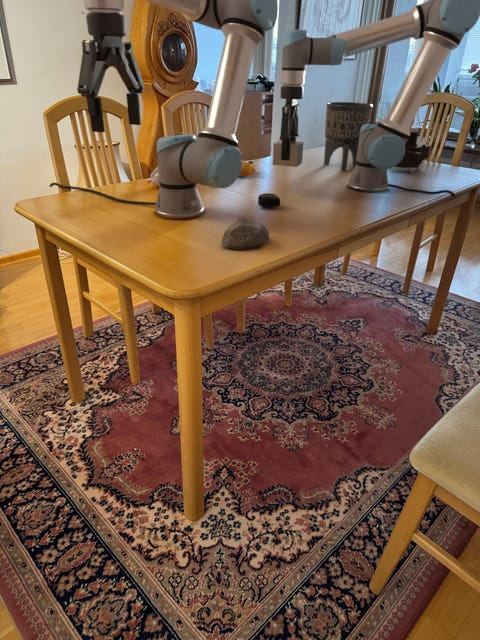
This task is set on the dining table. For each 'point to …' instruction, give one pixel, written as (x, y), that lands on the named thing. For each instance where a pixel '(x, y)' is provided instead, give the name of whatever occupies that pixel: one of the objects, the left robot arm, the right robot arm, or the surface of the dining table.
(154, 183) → the figurine
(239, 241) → the rock
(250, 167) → the toy
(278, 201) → the tape measure
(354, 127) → the planter
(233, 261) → the dining table surface
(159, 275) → the dining table surface
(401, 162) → the mechanical component
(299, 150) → the block
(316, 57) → the right robot arm
